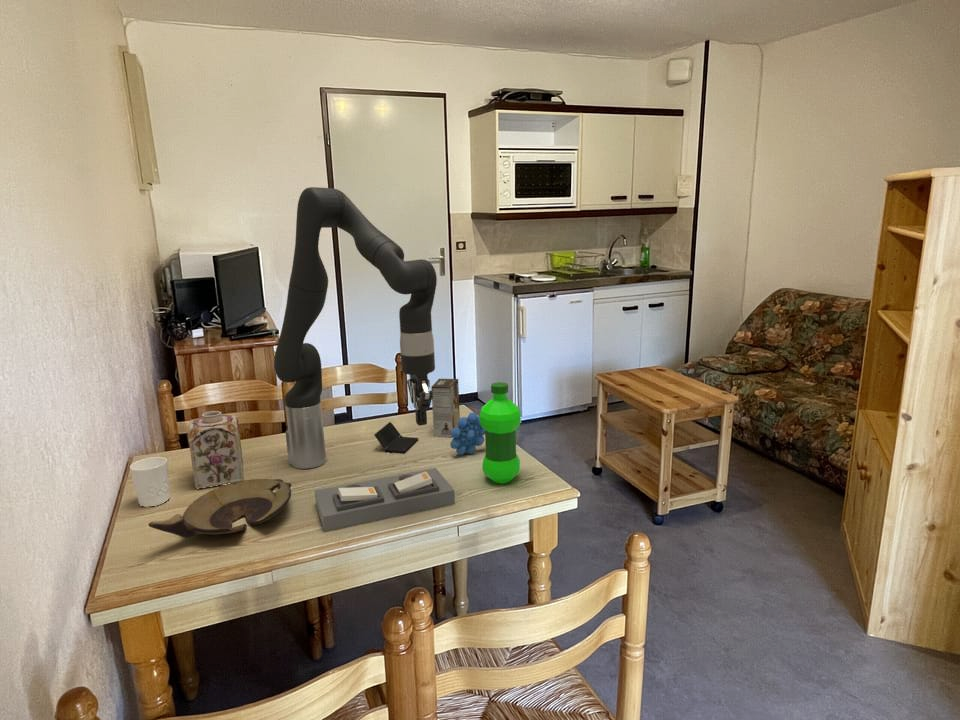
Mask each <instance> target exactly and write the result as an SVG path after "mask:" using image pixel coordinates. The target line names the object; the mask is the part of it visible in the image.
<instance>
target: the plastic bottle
mask: <svg viewBox="0 0 960 720" xmlns="http://www.w3.org/2000/svg"><path fill="white" fill-rule="evenodd" d="M490 388H491V389H490V391H491V392H490V393H492V394H493V397H492V398H491V399H490V400H488V401H487V402H486V403H485V404H484V405H483V406H482V407H481V409H480V412H479V416H480V424H481V427H482V428H483V429H484V430H485V435H484V436H485V437H484V442H485V445H484V446H485V454H484V457H483V459H482V467H481V468H482V472H483V474H484V475H485V476H486V477H487V478H488V479H490V480H491V481H492V482H493V483H495V484H508V483H509V482H511V481H512V480H513V479H514V478H516V477H517V476H518V474H519V473H520V471H521V465H520V464H521V460H520V458H519V456H518V454H517V432H516V431H517V429H518V428H519V427H520V426H521V421H522V420H521V419H522V417H521V413H522V412H521V409H520V407H519V406H518V405H517V404H515V403H514V402H513V401H512V400H511V399H510V398H508V397H507V393H508V392H509V383H507V382H503V381H502V382H501V381H499V382H493V383H491V384H490Z"/></svg>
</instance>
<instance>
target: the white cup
mask: <svg viewBox="0 0 960 720" xmlns="http://www.w3.org/2000/svg"><path fill="white" fill-rule="evenodd" d="M129 470H130V474H131V479H132V483H133V487H134V490H135V494H136V497H137V501H138V504H140V505H139V506H140V507H141V506H154V505H158V504H161V503H164V502H165V501H167V500H168V499H169V498H170V499H171V491H170V477H169V467H168V459H167V458H166V457H164V456H152V457H146V458H143V459H139V460H137V461H134V462H133V463H131V464H130V465H129ZM170 499H169V500H170ZM167 502H168V501H167ZM164 504H165V503H164Z"/></svg>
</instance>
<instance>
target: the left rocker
mask: <svg viewBox="0 0 960 720" xmlns="http://www.w3.org/2000/svg"><path fill="white" fill-rule="evenodd" d="M338 494H339V496H340V499H341V501H357V500H368V499H373V498H377V496H378V494H377V493H376V491H375V489H374V487H354V488H339V489H338Z"/></svg>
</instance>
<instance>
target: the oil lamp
mask: <svg viewBox="0 0 960 720" xmlns="http://www.w3.org/2000/svg"><path fill="white" fill-rule="evenodd" d="M291 487H292V483H291V482H285V481H284V480H282V479H281V478H276V479H275V478H274V479H272V478H254V479H253V478H252V479H244V481H239V482H235V483H230V484H227V485H223V486H218V488H214V489H212V490H210V491H208V492H206V493H204V494H203V495H201V496H200V497H197V499H195V500H194V501H193V502H192V503H190V505H189V506H188V507H187V508H186V509H185V511H184V512H183V514H179V513H177V514H174V515H173V516H172V517H170V518H168V519H166V520H159V521H157V520H156V521H154V520H152V521H150V522H149V523H148V527H149V528H153V529H155V530H157V531H162V532H166V533H169V534H173V535H176V536H179V537H182V538H193V537H195V536H197V535H203V534H204V535H205V534H207V535H223V534H230V533H236V532H240V531H243V530H245V529H246V528H247V527H248V525H247V524H249V525H251V526H255V525H260V524H262V523H264V522H266V521H269V520H271V518H274V516H276V515H277V514H279V512H281V511H282V510H283V509H284V508H285V507H286V506H287V505H288V504H289V502H290V500H291V498H292V489H291ZM276 489H277V490H276ZM274 490H276V491H275V492H274ZM242 517H245V520H246V522H247V523H243V524H240V525H237V526H233V523H234V522H236V521H238V520H239V519H241V518H242ZM232 522H233V523H232Z"/></svg>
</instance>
